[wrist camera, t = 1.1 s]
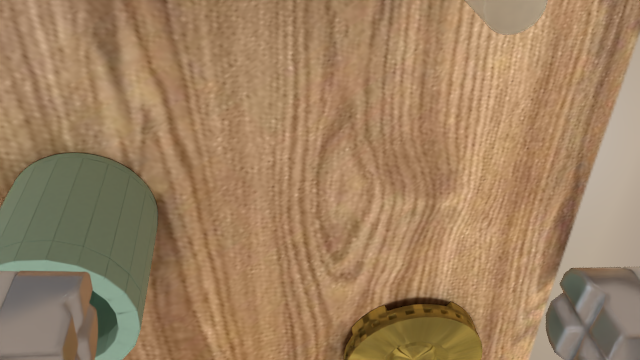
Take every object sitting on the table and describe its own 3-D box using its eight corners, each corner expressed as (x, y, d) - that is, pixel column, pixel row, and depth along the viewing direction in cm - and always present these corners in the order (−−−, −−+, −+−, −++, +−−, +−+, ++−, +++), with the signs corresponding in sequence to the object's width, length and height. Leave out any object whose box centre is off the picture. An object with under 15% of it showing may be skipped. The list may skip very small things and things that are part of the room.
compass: (348, 300, 49) (352, 320, 47) (487, 294, 51) (496, 313, 49) (337, 388, 56) (340, 409, 54) (459, 381, 58) (466, 400, 56)
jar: (-21, 175, 38) (-89, 289, 30) (120, 135, 38) (89, 239, 30) (56, 276, 44) (15, 394, 36) (179, 242, 43) (166, 354, 35)
